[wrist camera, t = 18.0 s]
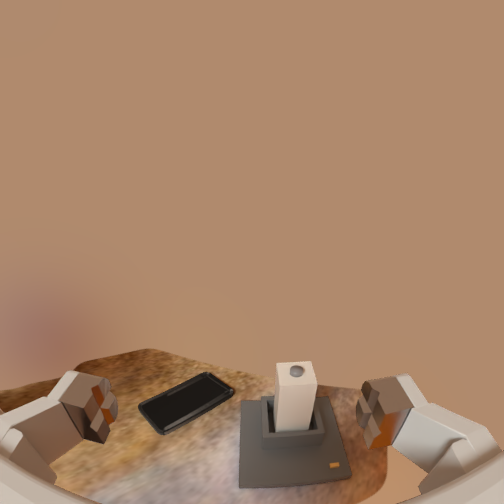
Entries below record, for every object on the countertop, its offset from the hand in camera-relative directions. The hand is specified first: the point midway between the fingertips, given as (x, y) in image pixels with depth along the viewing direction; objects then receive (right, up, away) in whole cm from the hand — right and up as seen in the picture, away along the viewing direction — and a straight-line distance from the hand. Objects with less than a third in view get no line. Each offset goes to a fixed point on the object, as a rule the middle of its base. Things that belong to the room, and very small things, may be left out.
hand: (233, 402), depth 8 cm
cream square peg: (+6, -20, +27) cm, 34 cm away
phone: (-10, -20, +33) cm, 40 cm away
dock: (+6, -22, +25) cm, 34 cm away
